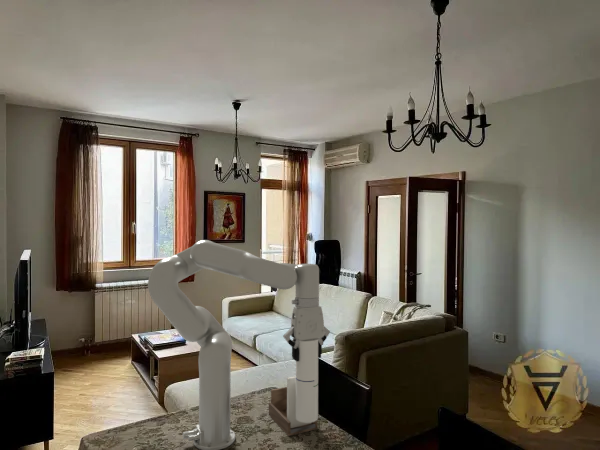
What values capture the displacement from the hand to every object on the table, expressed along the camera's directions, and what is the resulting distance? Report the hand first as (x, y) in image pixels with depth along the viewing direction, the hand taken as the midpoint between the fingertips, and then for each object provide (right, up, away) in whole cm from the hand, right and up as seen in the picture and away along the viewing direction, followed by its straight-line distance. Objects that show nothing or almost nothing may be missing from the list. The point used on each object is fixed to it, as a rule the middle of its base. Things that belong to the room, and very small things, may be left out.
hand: (307, 358), depth 128 cm
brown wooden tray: (-5, -25, +9) cm, 27 cm away
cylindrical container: (0, -19, 0) cm, 19 cm away
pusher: (-2, -23, +4) cm, 24 cm away
